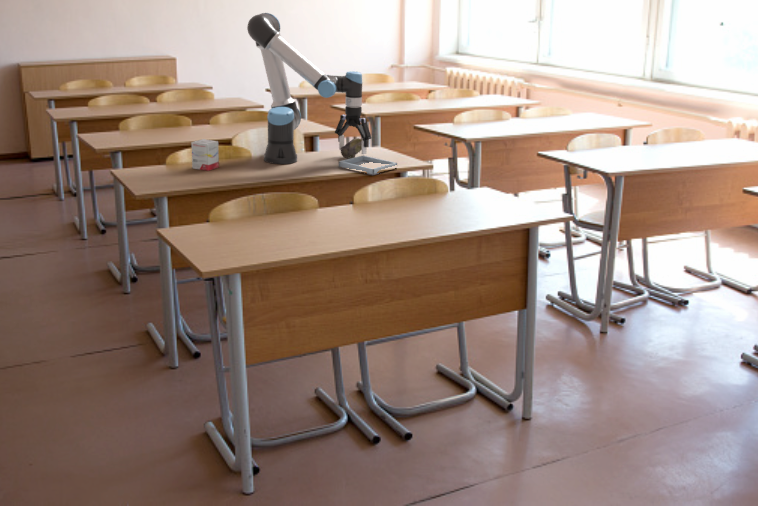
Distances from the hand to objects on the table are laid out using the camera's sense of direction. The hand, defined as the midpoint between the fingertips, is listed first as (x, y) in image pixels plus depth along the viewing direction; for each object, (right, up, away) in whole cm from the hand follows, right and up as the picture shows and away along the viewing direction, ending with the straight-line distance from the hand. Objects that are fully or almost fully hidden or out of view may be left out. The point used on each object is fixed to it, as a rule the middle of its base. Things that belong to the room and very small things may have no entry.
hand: (352, 151), depth 392 cm
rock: (-1, -3, +1) cm, 3 cm away
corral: (+7, -9, -15) cm, 19 cm away
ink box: (-63, -11, -28) cm, 70 cm away
